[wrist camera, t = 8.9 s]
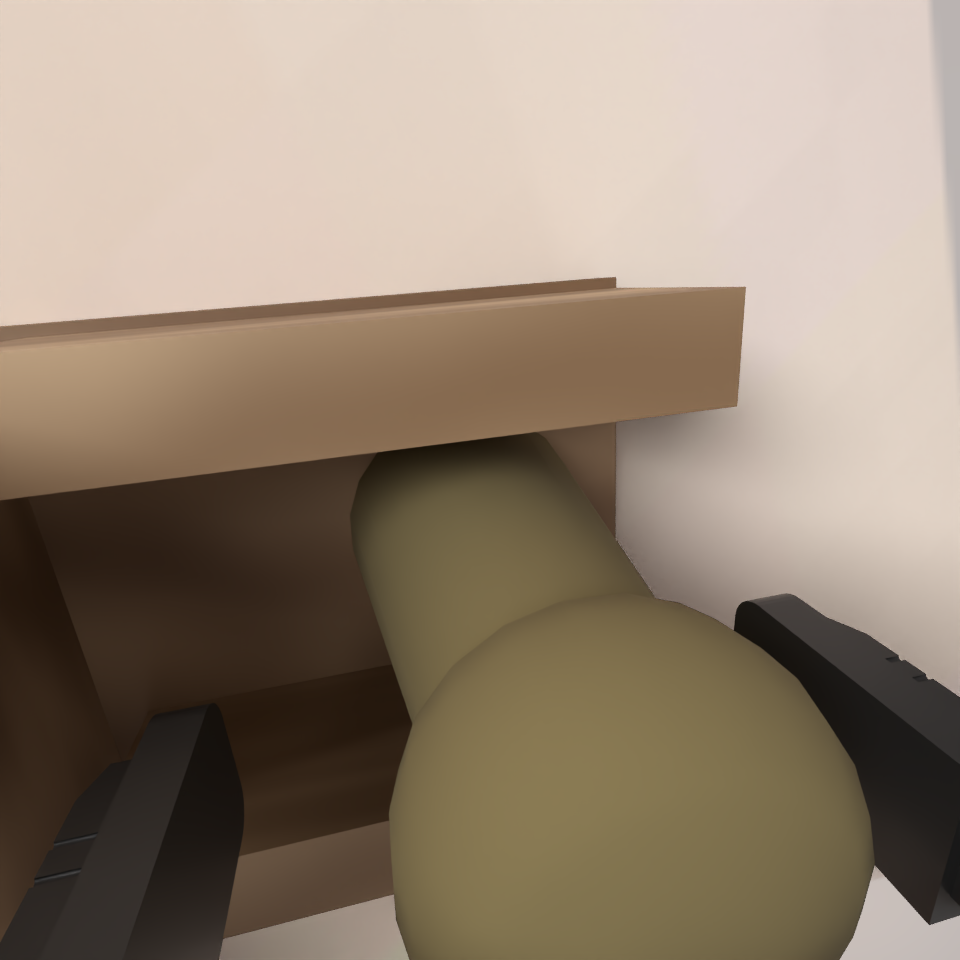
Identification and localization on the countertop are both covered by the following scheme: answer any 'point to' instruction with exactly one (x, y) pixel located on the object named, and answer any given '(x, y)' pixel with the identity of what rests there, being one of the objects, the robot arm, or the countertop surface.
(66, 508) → the wooden stand
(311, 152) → the countertop surface
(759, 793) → the olive rounded bulb piece
